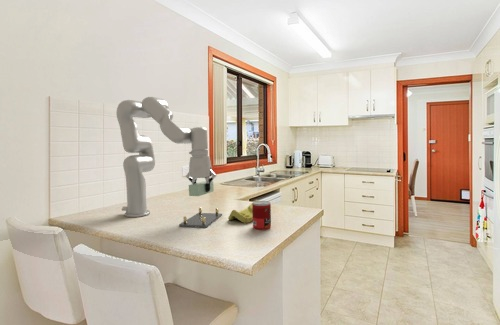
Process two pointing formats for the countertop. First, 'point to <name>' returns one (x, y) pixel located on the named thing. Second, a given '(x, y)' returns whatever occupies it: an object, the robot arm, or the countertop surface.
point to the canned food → (261, 215)
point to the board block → (199, 188)
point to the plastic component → (243, 214)
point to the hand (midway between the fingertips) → (201, 191)
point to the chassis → (200, 219)
